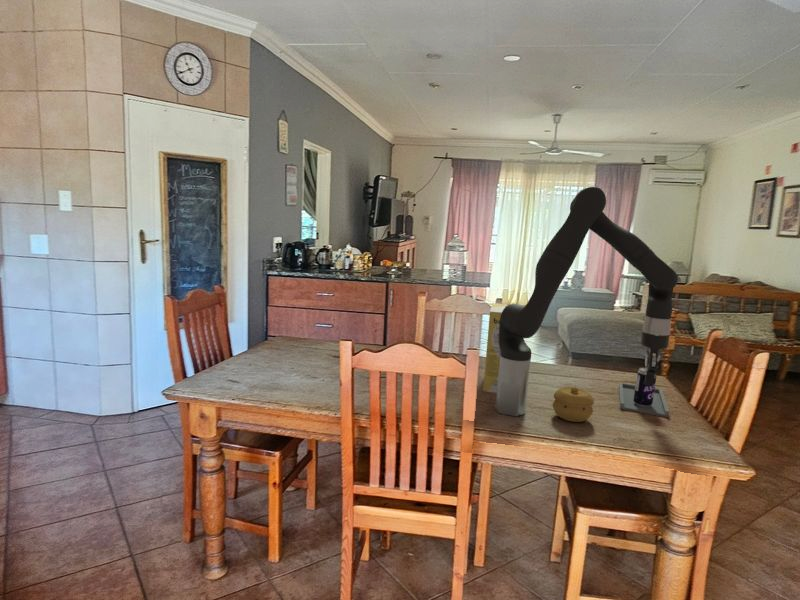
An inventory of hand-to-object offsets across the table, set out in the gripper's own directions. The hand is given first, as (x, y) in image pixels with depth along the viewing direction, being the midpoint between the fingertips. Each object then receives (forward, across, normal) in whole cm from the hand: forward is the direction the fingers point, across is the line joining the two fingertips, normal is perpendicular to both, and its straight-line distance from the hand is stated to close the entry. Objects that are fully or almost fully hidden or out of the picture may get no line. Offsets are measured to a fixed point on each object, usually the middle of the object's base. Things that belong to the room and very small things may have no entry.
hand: (648, 385), depth 158 cm
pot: (+10, +14, -21) cm, 27 cm away
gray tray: (+10, -15, 0) cm, 18 cm away
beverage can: (+10, -9, 0) cm, 13 cm away
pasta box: (+10, -6, -47) cm, 48 cm away
